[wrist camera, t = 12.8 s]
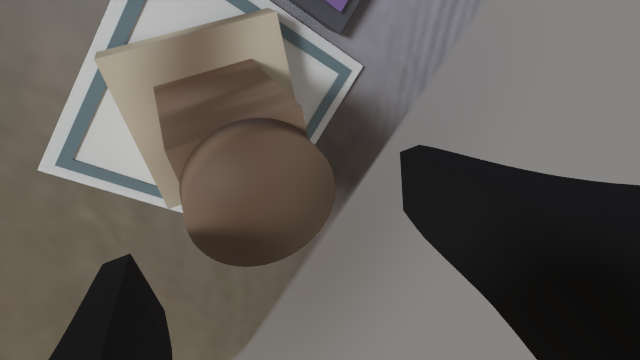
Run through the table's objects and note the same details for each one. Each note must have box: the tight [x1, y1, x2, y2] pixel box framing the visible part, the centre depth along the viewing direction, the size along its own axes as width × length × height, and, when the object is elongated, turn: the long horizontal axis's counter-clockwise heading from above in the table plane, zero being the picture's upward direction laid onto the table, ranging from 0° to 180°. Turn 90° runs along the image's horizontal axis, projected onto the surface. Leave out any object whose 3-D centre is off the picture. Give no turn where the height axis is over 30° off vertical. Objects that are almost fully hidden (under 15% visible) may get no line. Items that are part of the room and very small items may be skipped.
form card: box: [38, 0, 363, 213], centre depth 18 cm, size 11×11×1 cm
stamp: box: [94, 8, 335, 267], centre depth 15 cm, size 7×7×9 cm
